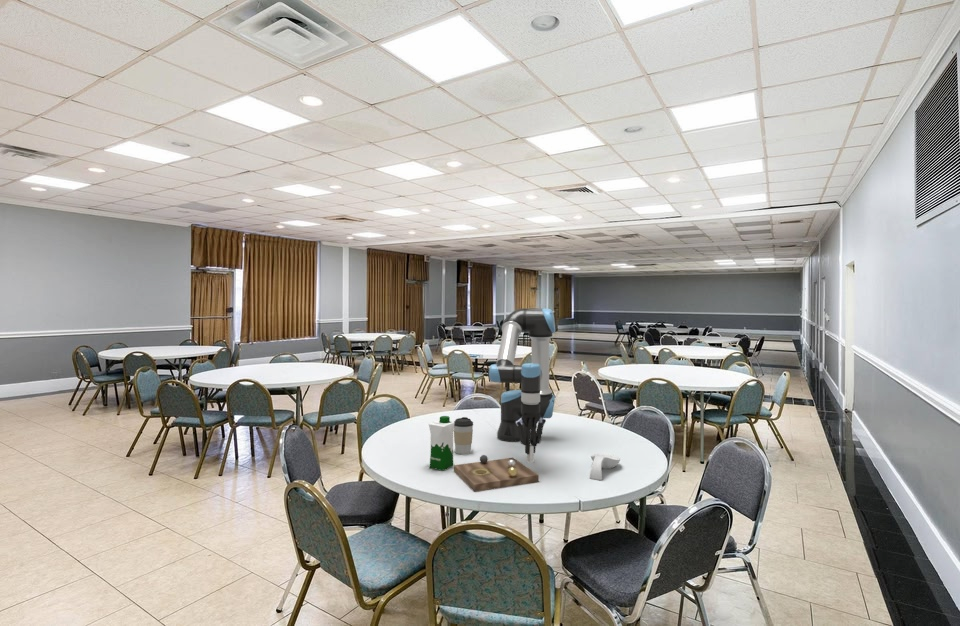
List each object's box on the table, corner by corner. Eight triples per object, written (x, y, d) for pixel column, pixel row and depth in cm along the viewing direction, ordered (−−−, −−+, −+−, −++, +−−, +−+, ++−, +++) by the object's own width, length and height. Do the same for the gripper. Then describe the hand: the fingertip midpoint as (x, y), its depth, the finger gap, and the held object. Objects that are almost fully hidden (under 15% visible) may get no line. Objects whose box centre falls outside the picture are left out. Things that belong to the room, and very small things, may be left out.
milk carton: (456, 465, 197) (456, 417, 197) (443, 472, 189) (443, 421, 189) (439, 461, 202) (439, 414, 201) (426, 468, 194) (426, 418, 193)
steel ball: (513, 465, 190) (513, 457, 189) (516, 468, 187) (517, 460, 186) (506, 466, 188) (506, 458, 188) (509, 469, 185) (509, 461, 185)
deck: (512, 463, 200) (512, 457, 200) (538, 481, 180) (538, 475, 180) (453, 471, 190) (453, 465, 190) (474, 491, 170) (474, 484, 170)
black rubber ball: (485, 461, 195) (485, 453, 195) (488, 463, 192) (489, 455, 192) (478, 462, 194) (478, 454, 194) (481, 464, 191) (481, 456, 191)
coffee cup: (470, 455, 210) (470, 421, 209) (450, 454, 211) (450, 420, 211) (475, 449, 218) (475, 417, 218) (455, 448, 220) (456, 416, 220)
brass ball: (514, 474, 180) (514, 465, 180) (518, 477, 177) (519, 468, 177) (505, 475, 179) (506, 466, 178) (510, 479, 175) (510, 469, 175)
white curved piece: (594, 460, 206) (594, 443, 205) (622, 464, 201) (622, 447, 200) (581, 478, 184) (581, 459, 184) (612, 483, 179) (612, 464, 179)
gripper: (540, 399, 196) (539, 456, 196) (511, 402, 191) (511, 460, 191) (549, 403, 189) (549, 462, 190) (520, 405, 184) (519, 466, 185)
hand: (530, 461), depth 191 cm, fingers closed
